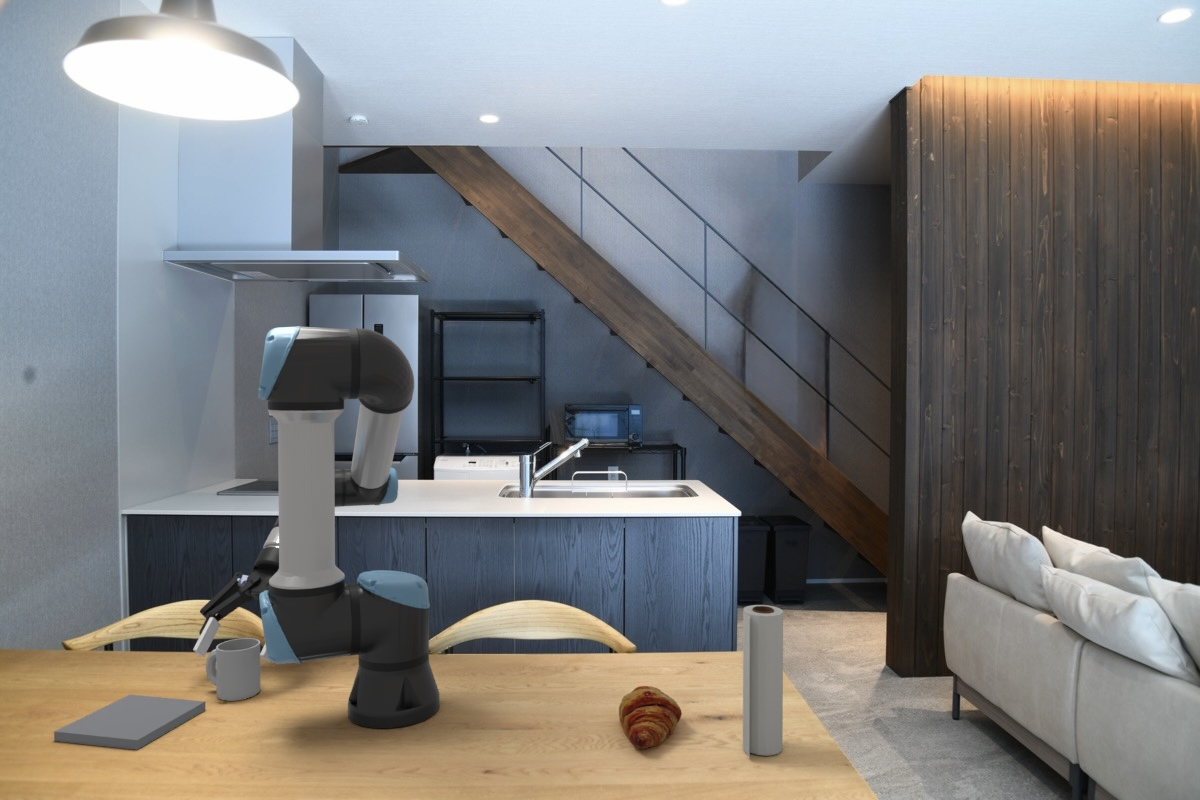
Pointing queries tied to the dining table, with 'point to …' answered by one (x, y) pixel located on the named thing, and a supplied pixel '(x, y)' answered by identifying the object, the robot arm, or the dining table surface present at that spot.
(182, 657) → the dining table surface
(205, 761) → the dining table surface
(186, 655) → the dining table surface
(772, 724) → the paper towel roll
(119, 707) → the slate tile
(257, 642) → the cup
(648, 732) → the croissant
